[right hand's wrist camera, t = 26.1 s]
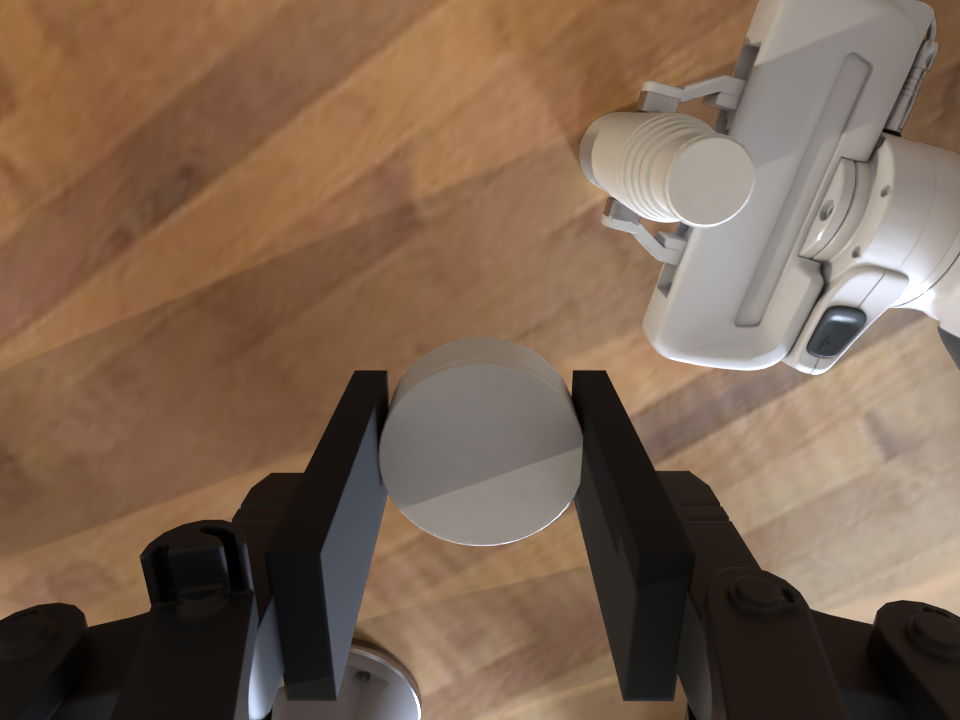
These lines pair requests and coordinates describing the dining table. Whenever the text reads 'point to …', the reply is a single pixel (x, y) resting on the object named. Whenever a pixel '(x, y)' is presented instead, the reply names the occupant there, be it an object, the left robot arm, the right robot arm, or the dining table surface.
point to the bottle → (668, 167)
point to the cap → (481, 442)
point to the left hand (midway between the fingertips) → (622, 155)
